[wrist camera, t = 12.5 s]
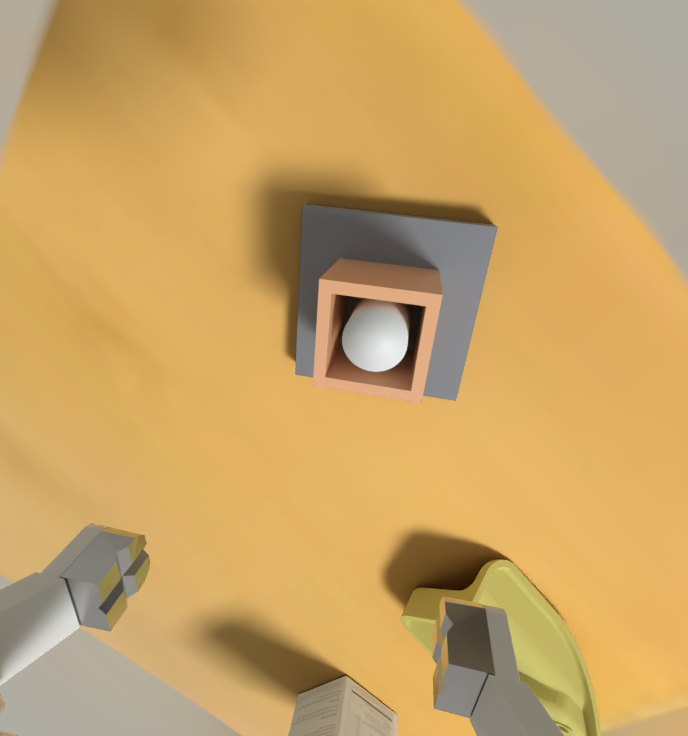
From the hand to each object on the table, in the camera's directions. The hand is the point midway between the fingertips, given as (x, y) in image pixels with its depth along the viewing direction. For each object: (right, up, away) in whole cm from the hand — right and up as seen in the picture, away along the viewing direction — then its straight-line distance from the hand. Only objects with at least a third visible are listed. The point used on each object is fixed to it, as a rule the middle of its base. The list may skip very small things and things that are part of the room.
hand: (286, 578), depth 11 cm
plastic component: (+17, -21, +31) cm, 41 cm away
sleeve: (+4, +9, +17) cm, 20 cm away
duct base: (+5, +10, +18) cm, 21 cm away
